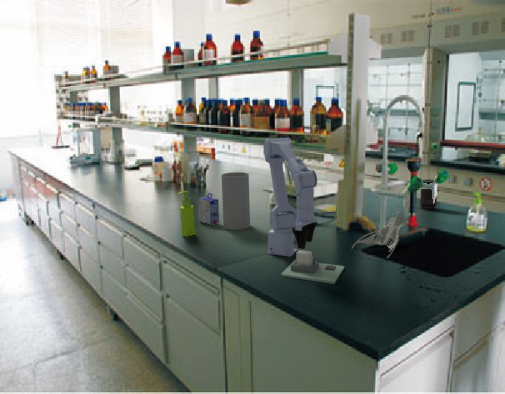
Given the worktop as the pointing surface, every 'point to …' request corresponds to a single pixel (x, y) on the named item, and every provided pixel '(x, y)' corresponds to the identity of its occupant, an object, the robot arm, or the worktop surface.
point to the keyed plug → (304, 258)
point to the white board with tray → (314, 272)
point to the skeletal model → (386, 233)
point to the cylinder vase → (235, 200)
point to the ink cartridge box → (208, 210)
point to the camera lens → (427, 197)
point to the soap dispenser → (187, 215)
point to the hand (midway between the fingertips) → (305, 244)
